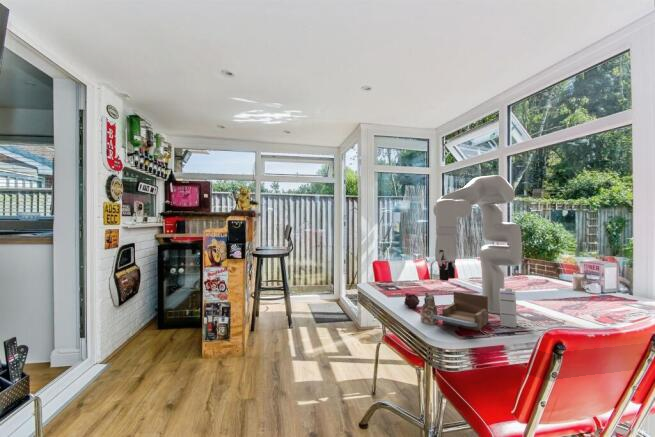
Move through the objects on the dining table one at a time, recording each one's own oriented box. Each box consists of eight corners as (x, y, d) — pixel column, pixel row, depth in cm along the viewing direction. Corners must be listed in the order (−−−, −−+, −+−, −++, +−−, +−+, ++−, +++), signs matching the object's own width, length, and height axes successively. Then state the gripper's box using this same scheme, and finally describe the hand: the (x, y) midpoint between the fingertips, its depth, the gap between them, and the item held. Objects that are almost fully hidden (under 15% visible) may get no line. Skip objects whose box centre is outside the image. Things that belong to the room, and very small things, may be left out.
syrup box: (516, 328, 118) (516, 292, 118) (499, 325, 121) (499, 290, 121) (516, 323, 123) (515, 289, 123) (500, 321, 126) (499, 287, 126)
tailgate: (442, 315, 124) (432, 315, 118) (477, 323, 115) (469, 323, 108) (441, 320, 124) (431, 320, 117) (477, 328, 114) (468, 328, 107)
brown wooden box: (454, 315, 135) (454, 291, 135) (488, 322, 125) (487, 296, 125) (442, 322, 125) (442, 297, 125) (477, 331, 115) (477, 303, 115)
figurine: (424, 324, 123) (423, 295, 123) (418, 318, 130) (417, 291, 130) (440, 324, 123) (440, 295, 123) (433, 318, 130) (433, 291, 131)
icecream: (427, 298, 141) (413, 293, 156) (412, 294, 140) (400, 290, 155) (424, 312, 140) (411, 306, 155) (410, 309, 139) (398, 303, 154)
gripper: (445, 230, 120) (446, 274, 120) (427, 232, 108) (427, 281, 108) (464, 231, 115) (465, 277, 115) (447, 232, 103) (448, 284, 103)
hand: (447, 278), depth 111 cm, fingers open, 5 cm apart
